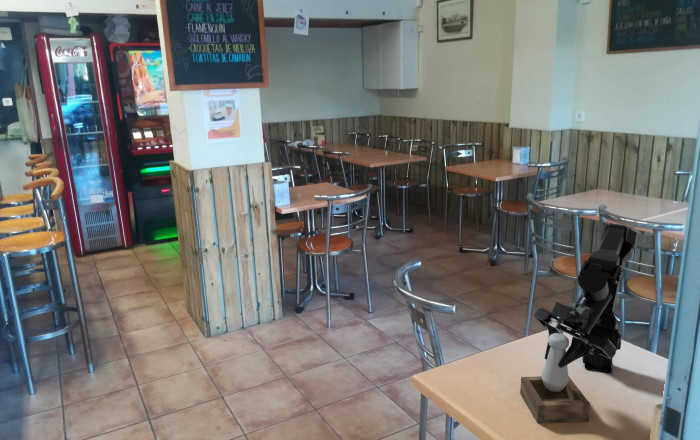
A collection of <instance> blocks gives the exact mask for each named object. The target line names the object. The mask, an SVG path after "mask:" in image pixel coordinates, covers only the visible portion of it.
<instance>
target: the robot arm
mask: <svg viewBox="0 0 700 440" xmlns="http://www.w3.org/2000/svg"><path fill="white" fill-rule="evenodd" d="M638 236H639V235H638V232H637V231H634V230H632V229H631V228H630V227H629V226H627V225H624V224H619V223H618V224H617V223H606V226H605V227H602V230H601V237H600V243H601V244H600V246H599V248H598V250H596V251H593V252H591V253H590V254H589V257H588V258H587V259H585V260H584V262H583V264H582V266H581V268H580V270H579V273H578V277H577V283H578V287H579V290H580V295H579V297H578V298H577V300H572V301H571V302H570V303H569V304H567V303H564V302H560V301H557V300H556V301H555V302H554V306H553V308H552V311H548V310H547V309H545V308H542V307H540V308H537V309H536V310H535V312H534V313H533V314H532V317H533V318H535V320H536V321H537V322H538V323H539V324H540V325H541V326H543V327H544V328H546V329H547V332H548V339H549V336H550V335H551V334H554V333H559V334H563V335H564V333H566V334H568V335H570V336H572V338H571V343H570V344H569V346H568V347H567V350H566V353H565V354H564V356H563V357H562V359H561V361H560V363H559V365H558V366H559V367H560V368H562V367H564V366H566V365H567V366H568V365H570V364H571V363H573V362H574V361H577V360H578V359H580V358H581V359H582V360H581V361H582V364H584V365H583V366H584V369H586V370H591V371H598V372H604V373H610V374H612V373H613V359H614V356H615V355H616V353H617V351H618V350H619V351H620V350H622V349H621V348H622V335H621V332H620V329H619V328H618V327H619V325H618V320H617V317H616V315H615V313H614V312H615V308H616V307H615V306H616V302H617V297H618V293H619V288H620V281H621V280H622V278H623V275H624V270H623V269H624V264H625V263H626V262H628V260H630V259H631V258H632V257H633V253H634V250H636V249H637V246H638ZM550 347H551V346H550V345H549V343H548V342H547V344H546V349H545V354H544V359H545V360H547V357H548V354H549V351H550Z"/></svg>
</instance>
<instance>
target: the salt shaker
mask: <svg viewBox="0 0 700 440" xmlns="http://www.w3.org/2000/svg"><path fill="white" fill-rule="evenodd" d="M548 337H549V339H548V340H547V344H548V343H549V345H550V346H551V347H550V351H549V354H548V357H547V360H546V359H545V360H546V361H545V363H544V366H543V370H542V372H541V376H542V380H543V383H544V386H545V387H546V388H547V389H549V390H550V391H555V392H560V391H561V390H563V389H564V388H565V386H566V385H567V383H568V381H569V377H570V376H569V370H568V369H569V368H568V365H566V366H564V367H562V368H560V367H559V366H558V365H559V363H560V361H561V359H562V357H563V356H564V354H565V353H566V351H567V350H566V349H568V348H569V347H570V340H569V337H568V336H566V335H565V334H564V333H563V334H559V333H554V334H551V335H550V336H549V335H548ZM568 376H569V377H568Z"/></svg>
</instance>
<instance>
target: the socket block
mask: <svg viewBox="0 0 700 440" xmlns="http://www.w3.org/2000/svg"><path fill="white" fill-rule="evenodd" d="M568 377H569V381H568V383H567V385H566V386H565V388H564V389H563V390H561V391H560V392H555V391H550V390H549V389H547V388H546V387H545V386H544V383H543V380H542V375H541V376H540V375H539V376H521V377H520V388H519V395H520V396H521V398H522V400H523V401H524V403H525V405H526V406H527V408H528V409H529V411H530V413H531V415H532V417H533V419H534V420H535V422H536V423H537V424H556V423H557V424H560V423H587V422H589V420H590V419H589V418H590V413H591V411H590V409H591V403H590V401H589V400H588V399H587V397H586V396H585V395H584V394H583V393H582V391H581V390H580V389H579V387H578V386H577V385H576V384H575V382H574V381H573V379H571V377H570V376H569V375H568Z"/></svg>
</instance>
